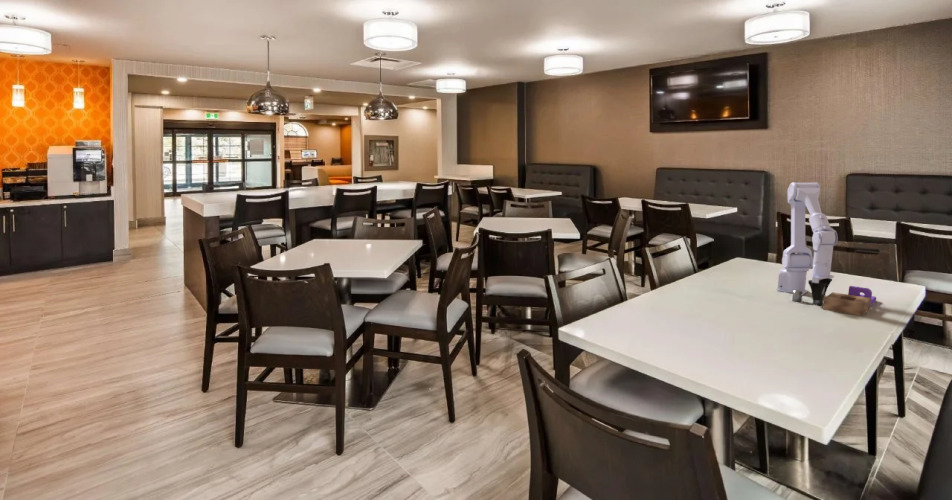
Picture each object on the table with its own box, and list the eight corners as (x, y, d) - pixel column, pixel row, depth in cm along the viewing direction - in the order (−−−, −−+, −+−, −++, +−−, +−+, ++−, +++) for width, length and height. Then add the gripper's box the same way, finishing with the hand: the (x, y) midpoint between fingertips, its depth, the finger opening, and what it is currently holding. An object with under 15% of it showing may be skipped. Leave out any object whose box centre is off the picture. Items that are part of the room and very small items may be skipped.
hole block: (822, 309, 199) (823, 298, 198) (831, 302, 207) (832, 292, 206) (862, 315, 190) (863, 304, 190) (869, 308, 199) (871, 298, 198)
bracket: (869, 308, 201) (871, 289, 200) (847, 304, 206) (849, 286, 204) (875, 301, 209) (878, 284, 208) (854, 298, 214) (856, 281, 213)
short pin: (791, 301, 210) (792, 290, 209) (793, 299, 212) (794, 289, 211) (800, 302, 208) (801, 292, 207) (802, 300, 210) (803, 290, 209)
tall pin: (811, 304, 205) (813, 284, 204) (814, 302, 207) (816, 283, 206) (821, 306, 203) (823, 286, 202) (823, 304, 205) (826, 284, 204)
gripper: (829, 267, 194) (825, 304, 197) (839, 261, 204) (835, 296, 207) (807, 264, 199) (803, 300, 202) (818, 258, 209) (814, 293, 212)
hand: (818, 298), depth 205 cm, fingers open, 5 cm apart
